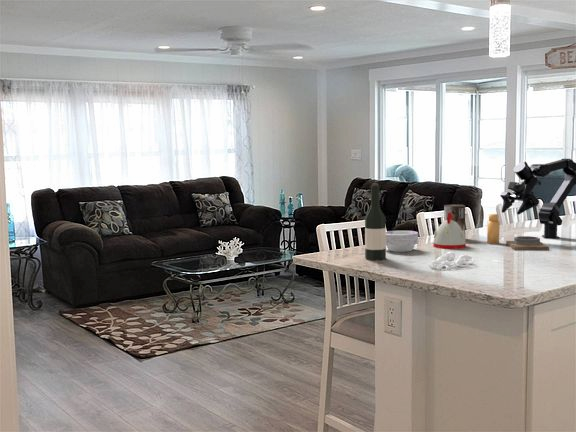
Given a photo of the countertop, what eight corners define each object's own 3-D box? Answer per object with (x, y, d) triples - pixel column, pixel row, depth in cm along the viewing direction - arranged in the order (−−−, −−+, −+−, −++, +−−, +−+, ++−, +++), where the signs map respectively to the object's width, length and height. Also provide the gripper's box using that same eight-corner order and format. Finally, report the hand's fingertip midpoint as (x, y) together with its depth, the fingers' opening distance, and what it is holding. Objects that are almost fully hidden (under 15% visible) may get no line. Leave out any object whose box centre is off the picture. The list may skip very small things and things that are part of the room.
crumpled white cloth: (453, 276, 240) (453, 265, 239) (418, 268, 249) (419, 257, 248) (479, 266, 253) (480, 256, 253) (446, 259, 263) (446, 249, 262)
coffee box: (463, 238, 319) (463, 204, 318) (465, 240, 313) (465, 205, 311) (443, 238, 320) (443, 204, 318) (445, 240, 314) (445, 205, 312)
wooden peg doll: (486, 242, 306) (486, 213, 304) (497, 242, 305) (498, 213, 304) (488, 244, 301) (488, 215, 299) (500, 244, 300) (500, 215, 299)
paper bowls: (383, 247, 297) (383, 229, 296) (418, 247, 294) (418, 229, 293) (381, 253, 282) (381, 234, 281) (418, 253, 279) (418, 234, 278)
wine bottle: (387, 257, 272) (387, 183, 269) (383, 260, 264) (383, 184, 261) (367, 256, 275) (367, 183, 271) (362, 259, 267) (362, 184, 263)
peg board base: (506, 244, 299) (506, 235, 299) (538, 244, 298) (539, 235, 297) (514, 250, 283) (514, 240, 283) (548, 250, 282) (548, 240, 281)
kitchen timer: (430, 248, 293) (430, 214, 291) (436, 243, 305) (436, 210, 304) (463, 249, 287) (463, 214, 286) (467, 244, 300) (468, 211, 298)
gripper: (502, 174, 312) (485, 200, 308) (534, 175, 295) (516, 203, 292) (515, 189, 316) (498, 215, 313) (547, 192, 300) (529, 219, 296)
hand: (509, 213), depth 303 cm, fingers open, 9 cm apart
